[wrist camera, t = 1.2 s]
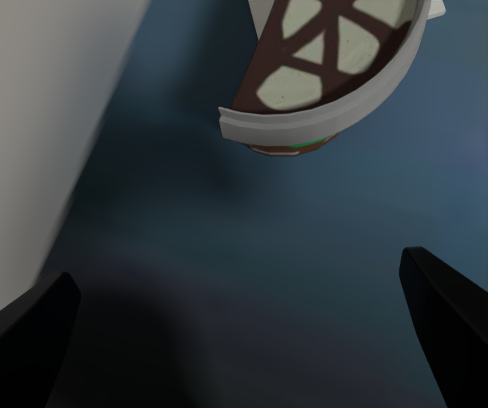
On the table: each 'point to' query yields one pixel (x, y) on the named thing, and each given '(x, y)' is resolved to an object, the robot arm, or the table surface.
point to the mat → (263, 3)
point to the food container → (321, 71)
